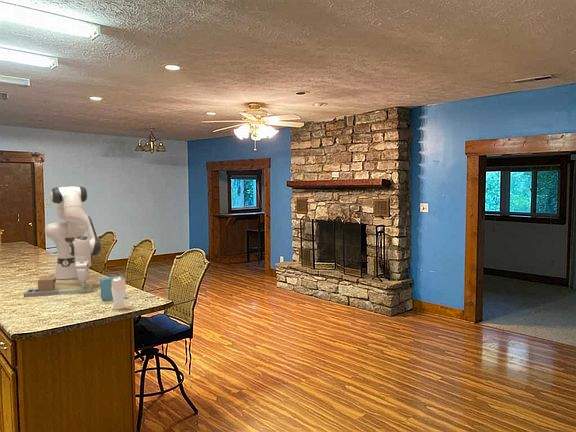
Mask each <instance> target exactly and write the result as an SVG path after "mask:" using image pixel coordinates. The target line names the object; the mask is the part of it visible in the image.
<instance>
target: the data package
mask: <svg viewBox="0 0 576 432" xmlns="http://www.w3.org/2000/svg"><path fill="white" fill-rule="evenodd" d="M115 278H124V277H123V276H121V275H120V276H112V277H111V276H110V277H103V278H101V279H100V282H99V283H100V285H99V286H100V287H99V288H100V299H101V300H102V301H104V302H107V301H113V296H112V292H111V280H112V279H115Z"/></svg>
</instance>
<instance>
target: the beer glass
mask: <svg viewBox="0 0 576 432" xmlns="http://www.w3.org/2000/svg"><path fill="white" fill-rule="evenodd" d="M126 287H127V286H126V279H125V277H123V278H115V279H112V280H111V292H112V296H113V300H112V301H113V305H112V310H123V309H125V308H126V304H125V297H126V290H127V289H126Z"/></svg>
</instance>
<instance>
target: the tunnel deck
mask: <svg viewBox="0 0 576 432" xmlns="http://www.w3.org/2000/svg"><path fill="white" fill-rule="evenodd" d="M55 282H57V279H56V277H53V276H50V277H48V276H47V277H40V278H39V279H38V280H37V287H35V288H28V289H27V290H26V291H25V292H24V293H23V297H24V298H28V297H31V298H32V297H44V296H57V295H70V294H72V295H73V294H84V293H91V292H92V290H93V284H86V285H85V287H84V288H75V289H61V290H54V283H55Z"/></svg>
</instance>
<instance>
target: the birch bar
mask: <svg viewBox="0 0 576 432" xmlns="http://www.w3.org/2000/svg"><path fill="white" fill-rule="evenodd" d="M75 288H84V287H82V286H81V281H78V280H67V281H56V282H55V283H54V290H61V289H75Z"/></svg>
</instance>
